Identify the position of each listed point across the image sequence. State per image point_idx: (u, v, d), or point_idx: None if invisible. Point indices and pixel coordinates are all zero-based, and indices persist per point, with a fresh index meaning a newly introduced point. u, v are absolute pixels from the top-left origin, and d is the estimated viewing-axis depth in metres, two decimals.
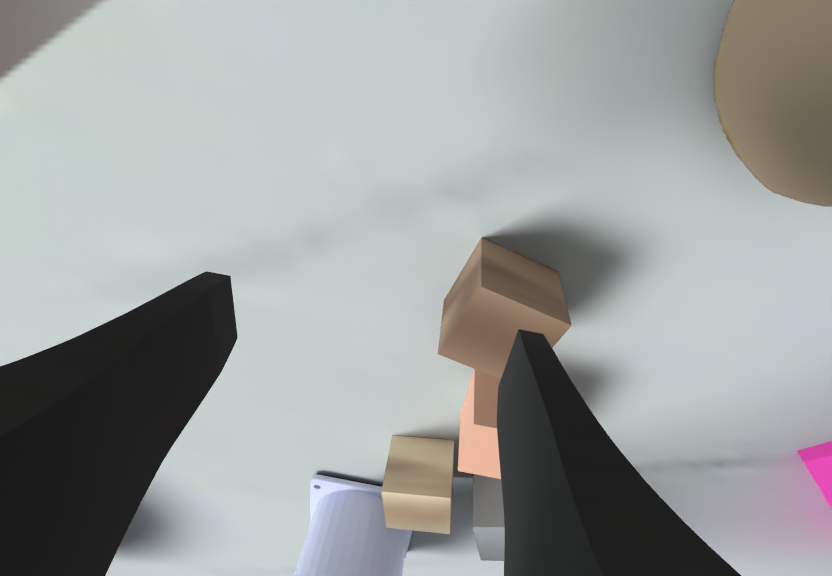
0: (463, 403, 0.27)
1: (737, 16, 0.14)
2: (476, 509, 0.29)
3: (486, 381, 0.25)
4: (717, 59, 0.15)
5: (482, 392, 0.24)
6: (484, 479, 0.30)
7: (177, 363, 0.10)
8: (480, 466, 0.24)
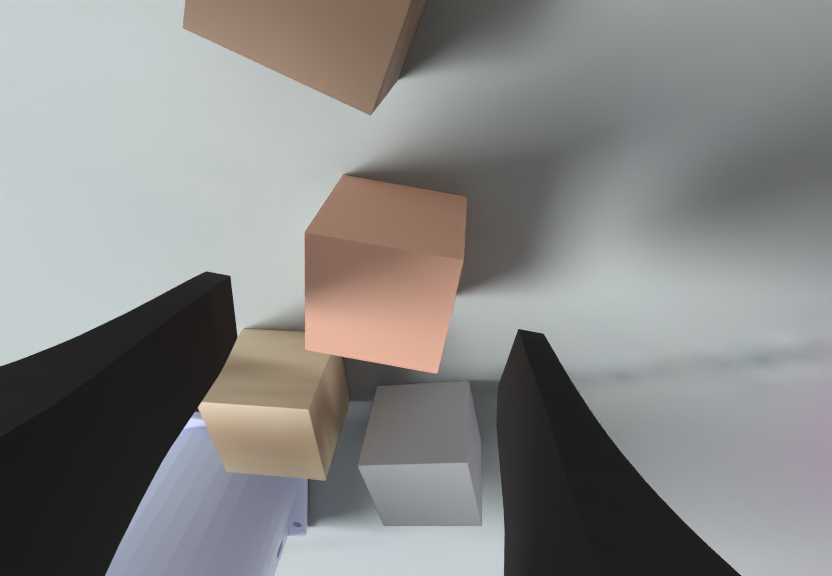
0: None
1: None
2: (369, 440, 0.18)
3: (356, 190, 0.14)
4: None
5: (342, 200, 0.13)
6: (390, 398, 0.19)
7: (177, 363, 0.10)
8: (342, 338, 0.13)
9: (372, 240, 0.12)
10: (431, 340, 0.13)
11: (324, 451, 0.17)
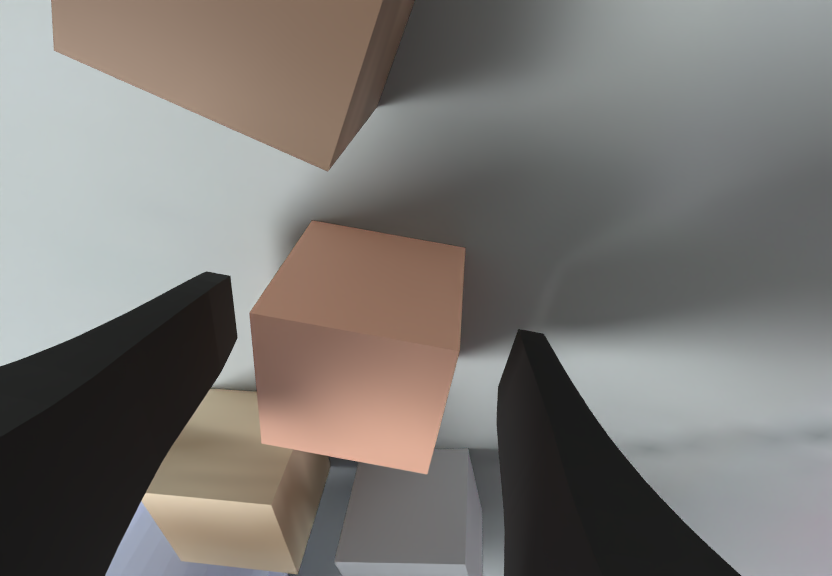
0: None
1: None
2: (349, 525, 0.15)
3: (326, 242, 0.11)
4: None
5: (307, 258, 0.10)
6: (376, 469, 0.16)
7: (177, 363, 0.10)
8: (306, 432, 0.10)
9: (340, 323, 0.09)
10: (419, 438, 0.10)
11: (295, 541, 0.14)
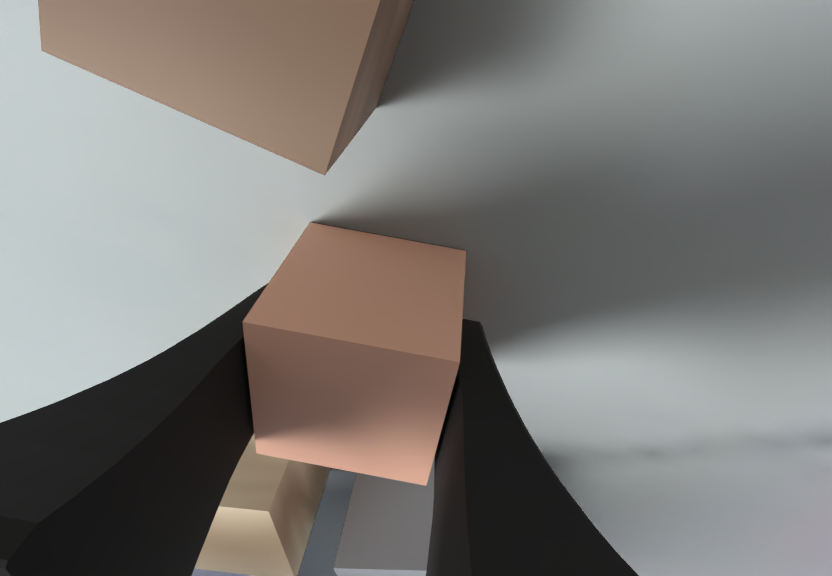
0: None
1: None
2: (348, 531, 0.15)
3: (324, 247, 0.11)
4: None
5: (303, 264, 0.10)
6: None
7: None
8: (301, 442, 0.10)
9: (336, 332, 0.08)
10: (417, 450, 0.10)
11: (293, 547, 0.14)
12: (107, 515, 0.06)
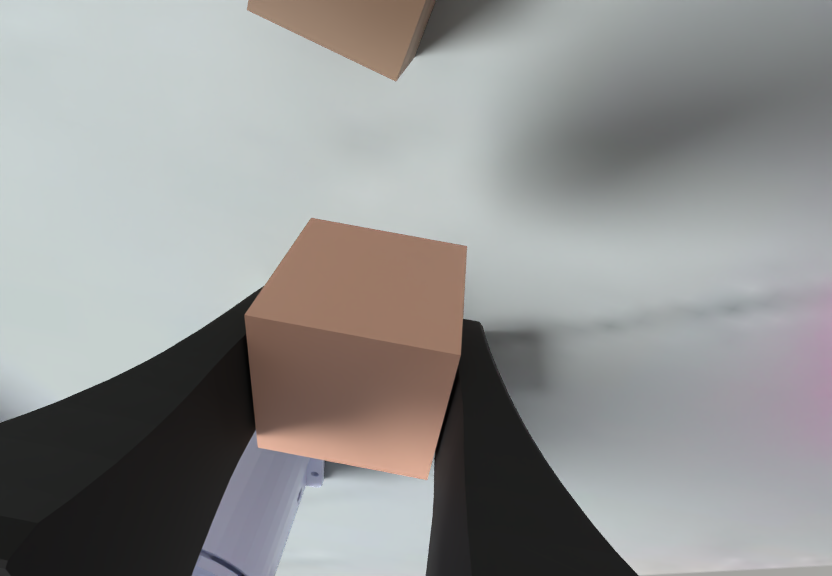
0: None
1: None
2: None
3: (325, 242, 0.11)
4: None
5: (304, 259, 0.10)
6: None
7: (248, 377, 0.09)
8: (303, 437, 0.10)
9: (337, 325, 0.08)
10: (418, 443, 0.10)
11: None
12: (107, 515, 0.06)
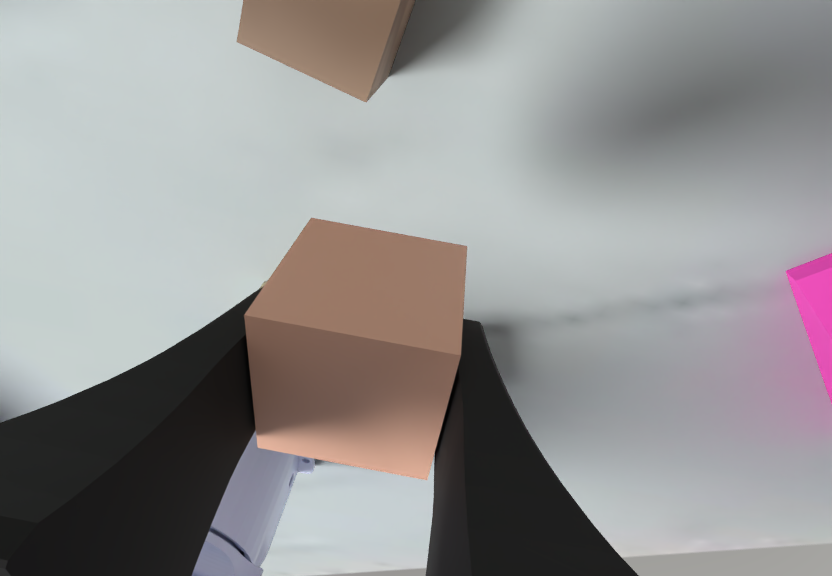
0: None
1: None
2: None
3: (325, 242, 0.11)
4: None
5: (304, 259, 0.10)
6: None
7: (249, 377, 0.09)
8: (303, 436, 0.10)
9: (337, 326, 0.08)
10: (418, 444, 0.10)
11: None
12: (107, 515, 0.06)
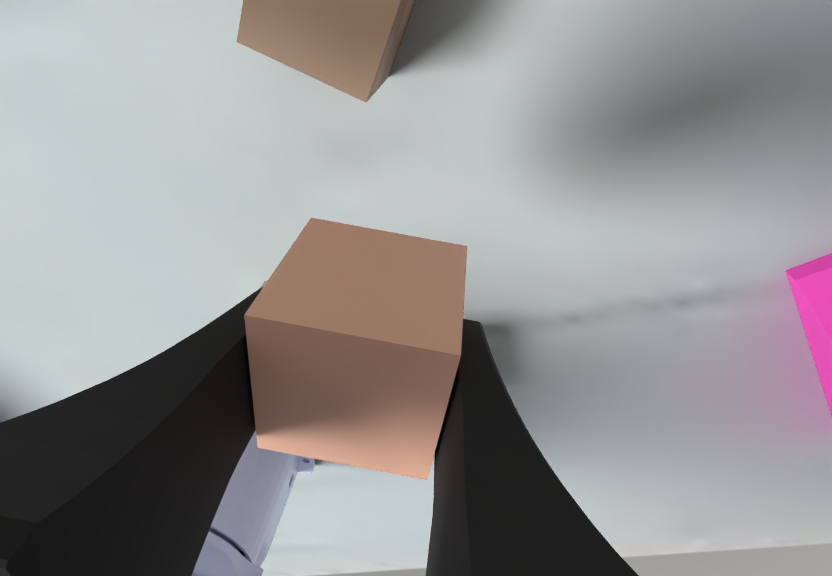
0: None
1: None
2: None
3: (325, 242, 0.11)
4: None
5: (304, 259, 0.10)
6: None
7: (249, 377, 0.09)
8: (303, 436, 0.10)
9: (337, 326, 0.08)
10: (418, 444, 0.10)
11: None
12: (107, 515, 0.06)
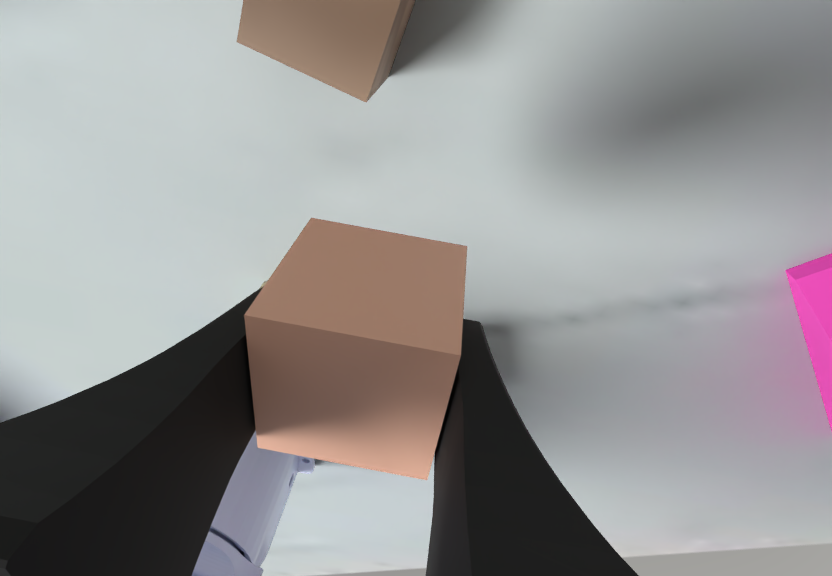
0: None
1: None
2: None
3: (325, 242, 0.11)
4: None
5: (304, 259, 0.10)
6: None
7: (249, 377, 0.09)
8: (303, 436, 0.10)
9: (337, 326, 0.08)
10: (418, 444, 0.10)
11: None
12: (107, 515, 0.06)
